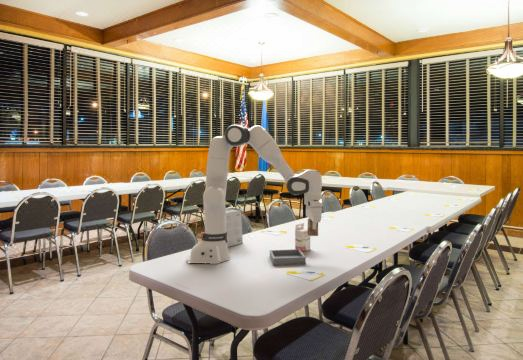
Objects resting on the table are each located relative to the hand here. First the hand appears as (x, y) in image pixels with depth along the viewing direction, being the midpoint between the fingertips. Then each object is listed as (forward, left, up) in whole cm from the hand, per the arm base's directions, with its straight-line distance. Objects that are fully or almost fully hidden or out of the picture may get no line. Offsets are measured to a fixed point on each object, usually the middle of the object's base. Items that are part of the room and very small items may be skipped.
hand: (312, 227), depth 206 cm
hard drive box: (-43, +38, -16) cm, 59 cm away
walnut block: (0, 0, -4) cm, 4 cm away
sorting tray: (-14, -1, -16) cm, 21 cm away
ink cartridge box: (-2, +18, -16) cm, 24 cm away
